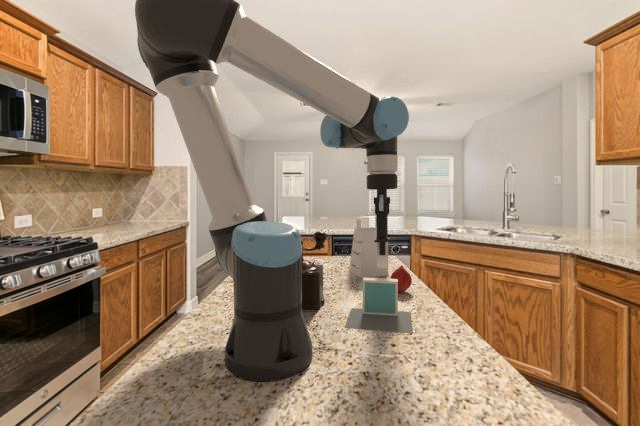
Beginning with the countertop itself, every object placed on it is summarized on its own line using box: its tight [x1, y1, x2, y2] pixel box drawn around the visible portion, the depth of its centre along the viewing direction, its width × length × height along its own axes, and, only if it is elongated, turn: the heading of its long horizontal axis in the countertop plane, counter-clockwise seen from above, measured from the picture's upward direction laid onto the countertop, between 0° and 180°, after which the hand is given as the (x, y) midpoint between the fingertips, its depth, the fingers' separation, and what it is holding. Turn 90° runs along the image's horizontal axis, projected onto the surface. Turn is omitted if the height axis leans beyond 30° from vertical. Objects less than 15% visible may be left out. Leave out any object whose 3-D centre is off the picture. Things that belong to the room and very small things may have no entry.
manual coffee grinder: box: [301, 230, 328, 311], centre depth 89 cm, size 16×11×18 cm
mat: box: [343, 307, 414, 334], centre depth 76 cm, size 12×14×1 cm
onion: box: [390, 265, 413, 294], centre depth 96 cm, size 6×6×8 cm
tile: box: [362, 277, 399, 316], centre depth 79 cm, size 2×8×8 cm, turn 77°
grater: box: [348, 215, 390, 279], centre depth 119 cm, size 10×10×20 cm
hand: (382, 267), depth 85 cm, fingers closed
